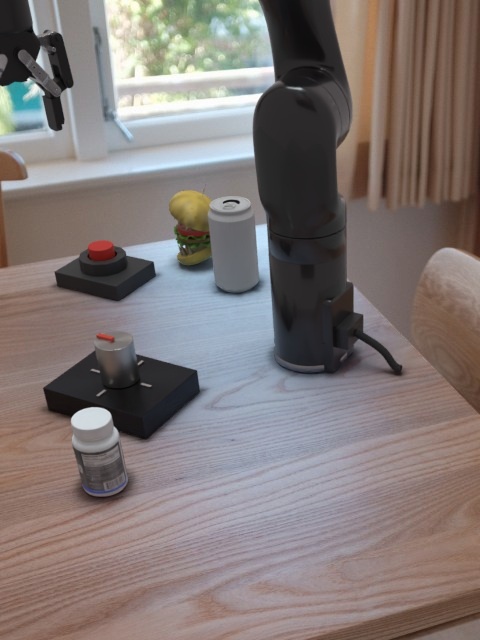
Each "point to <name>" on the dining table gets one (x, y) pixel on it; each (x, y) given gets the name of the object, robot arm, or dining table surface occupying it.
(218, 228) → the beverage can
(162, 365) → the panel
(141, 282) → the button block
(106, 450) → the pill bottle
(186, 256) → the hamburger
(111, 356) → the knob
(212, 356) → the dining table surface
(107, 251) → the button
